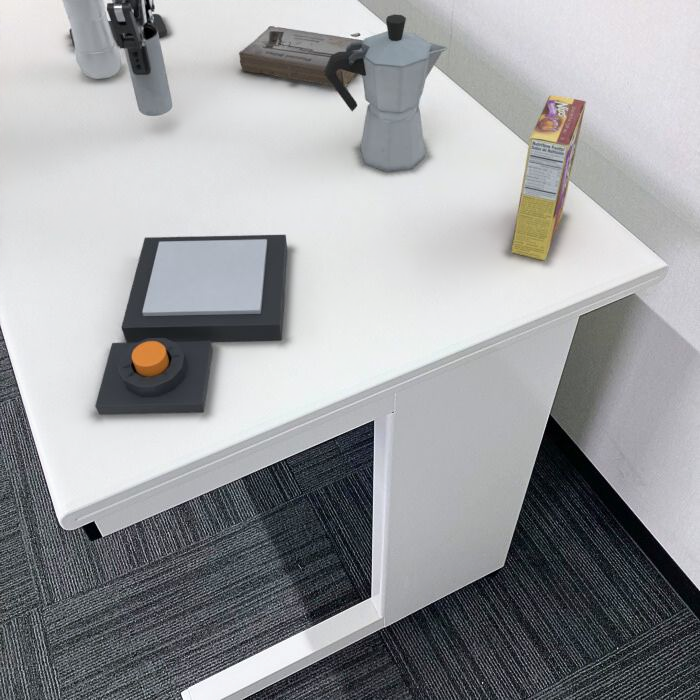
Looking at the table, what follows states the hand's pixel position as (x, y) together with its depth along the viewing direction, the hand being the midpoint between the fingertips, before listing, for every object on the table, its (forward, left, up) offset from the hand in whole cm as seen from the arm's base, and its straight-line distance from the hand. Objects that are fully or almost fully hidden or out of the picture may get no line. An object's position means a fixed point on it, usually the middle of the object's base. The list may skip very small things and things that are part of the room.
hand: (145, 62), depth 95 cm
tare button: (+6, -44, -8) cm, 45 cm away
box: (+19, +17, -10) cm, 28 cm away
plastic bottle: (-12, +17, -10) cm, 23 cm away
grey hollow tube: (0, 0, -7) cm, 7 cm away
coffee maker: (+30, -6, -10) cm, 33 cm away
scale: (+10, -32, -10) cm, 35 cm away
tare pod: (+6, -44, -10) cm, 46 cm away
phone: (-12, +29, -10) cm, 33 cm away
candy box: (+47, -23, -10) cm, 54 cm away
